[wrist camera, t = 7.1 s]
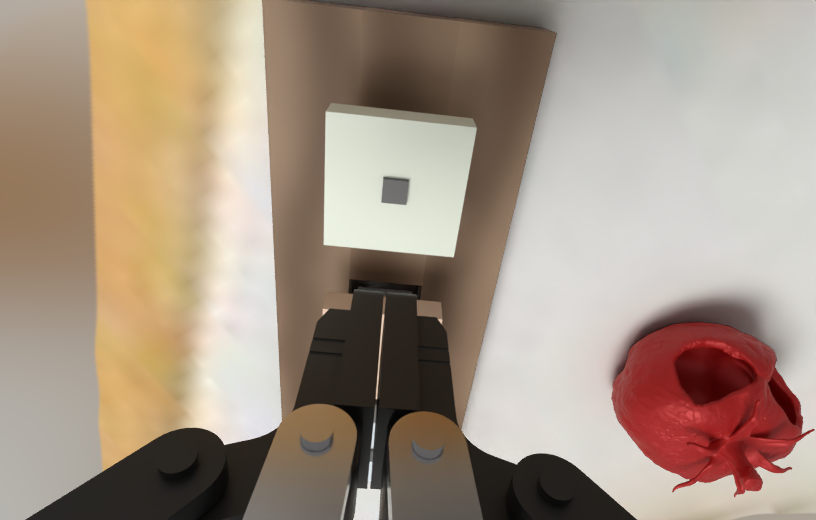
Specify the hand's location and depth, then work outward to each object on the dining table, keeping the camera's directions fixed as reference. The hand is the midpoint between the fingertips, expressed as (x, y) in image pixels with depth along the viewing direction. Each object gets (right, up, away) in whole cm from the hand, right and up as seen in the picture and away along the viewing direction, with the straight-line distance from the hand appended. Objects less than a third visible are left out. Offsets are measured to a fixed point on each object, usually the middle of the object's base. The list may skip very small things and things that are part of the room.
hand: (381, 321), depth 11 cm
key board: (-1, 0, +17) cm, 17 cm away
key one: (0, +6, +11) cm, 12 cm away
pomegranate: (+19, -5, +21) cm, 28 cm away
